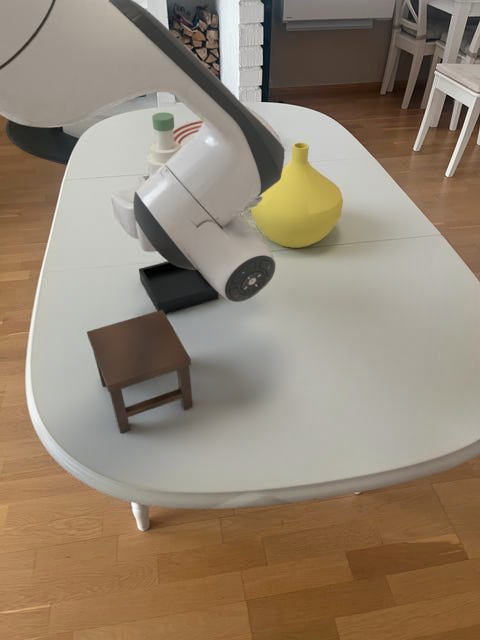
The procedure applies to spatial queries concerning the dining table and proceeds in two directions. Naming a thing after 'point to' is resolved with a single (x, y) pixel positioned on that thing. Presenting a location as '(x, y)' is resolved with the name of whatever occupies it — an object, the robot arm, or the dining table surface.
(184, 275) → the black square tray
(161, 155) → the bottle
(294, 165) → the vase
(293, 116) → the dining table surface
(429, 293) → the dining table surface
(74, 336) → the dining table surface
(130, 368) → the brown wooden stool
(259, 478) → the dining table surface
